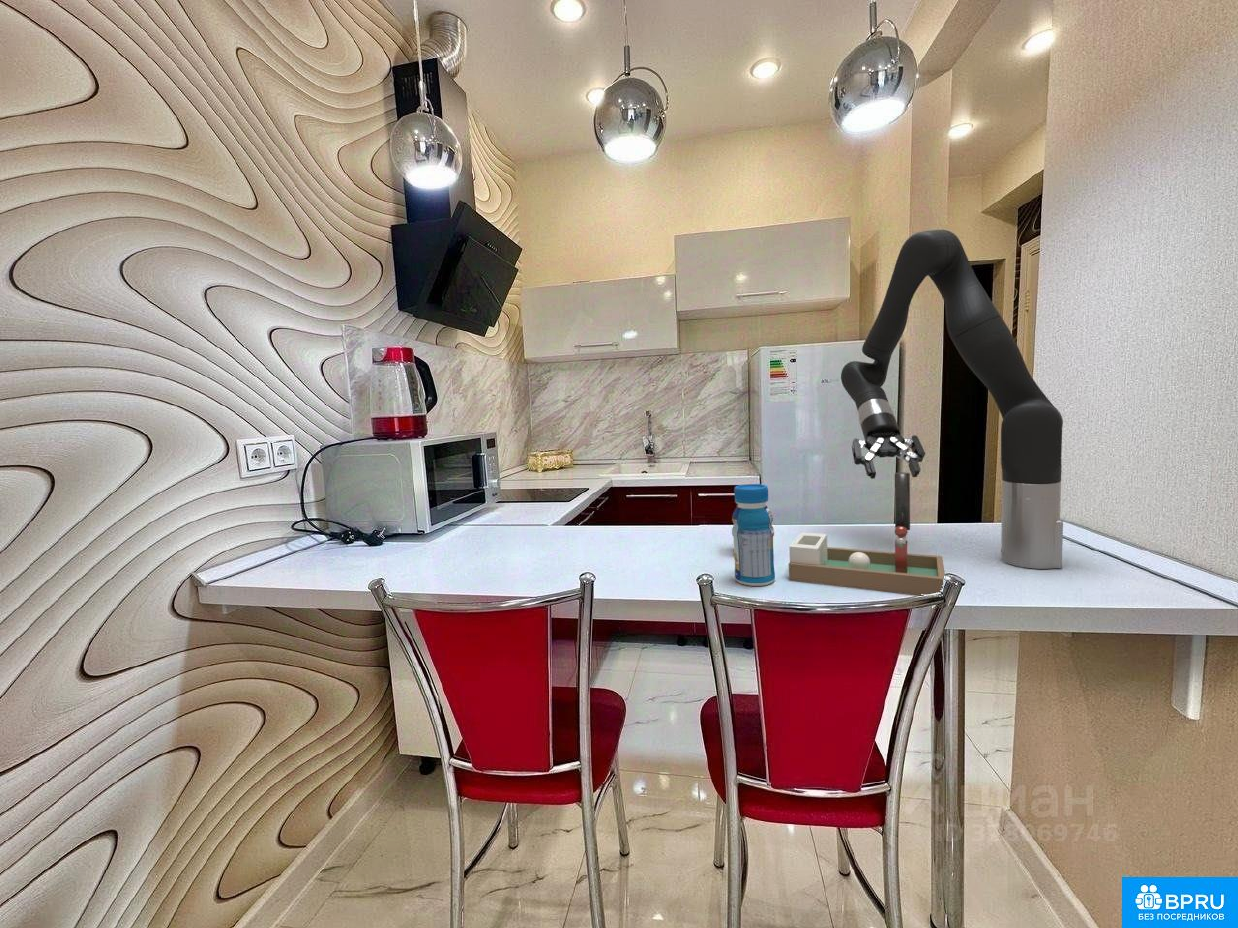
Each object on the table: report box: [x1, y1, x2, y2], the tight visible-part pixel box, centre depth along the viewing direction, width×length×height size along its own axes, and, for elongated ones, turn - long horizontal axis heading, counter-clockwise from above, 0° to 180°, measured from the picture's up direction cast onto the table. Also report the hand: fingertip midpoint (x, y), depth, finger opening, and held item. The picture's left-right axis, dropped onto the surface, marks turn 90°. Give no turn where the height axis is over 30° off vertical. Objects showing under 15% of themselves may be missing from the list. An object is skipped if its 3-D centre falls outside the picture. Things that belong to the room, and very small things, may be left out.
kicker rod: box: [894, 472, 911, 573], centre depth 100 cm, size 3×13×19 cm, turn 148°
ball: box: [849, 552, 870, 570], centre depth 101 cm, size 4×4×4 cm
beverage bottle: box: [731, 483, 776, 587], centre depth 102 cm, size 8×8×20 cm
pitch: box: [788, 532, 946, 596], centre depth 100 cm, size 27×14×7 cm, turn 59°
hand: (894, 475), depth 108 cm, fingers open, 8 cm apart
